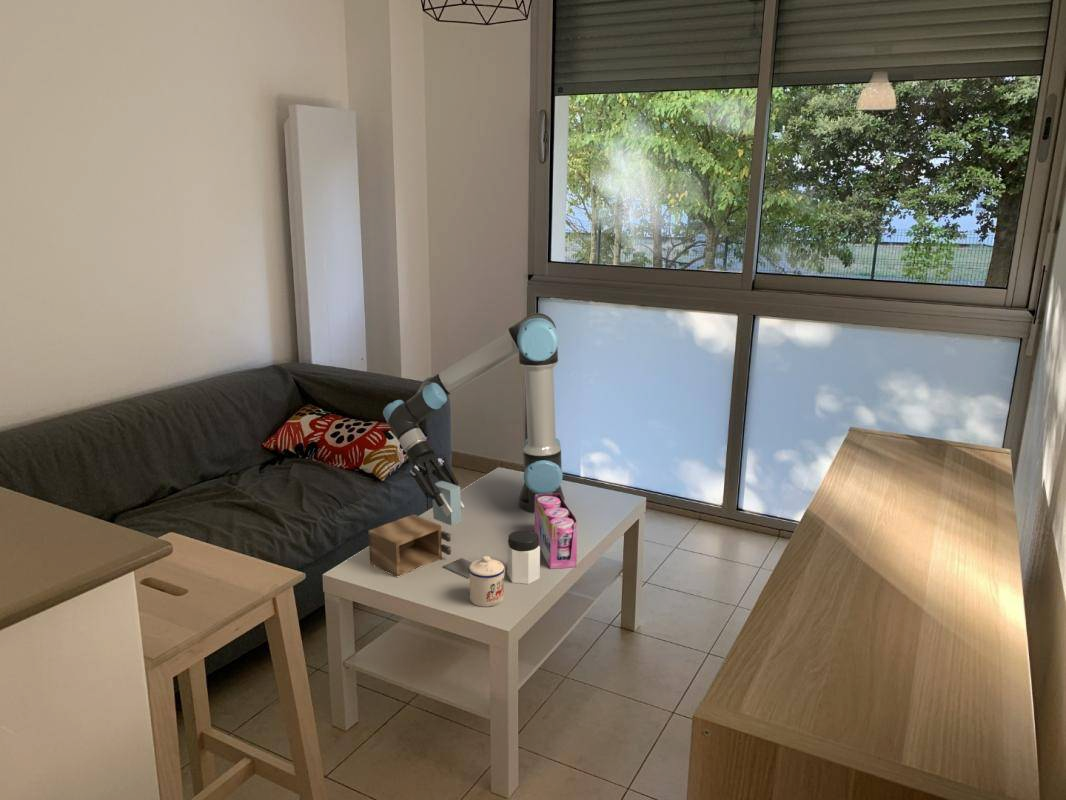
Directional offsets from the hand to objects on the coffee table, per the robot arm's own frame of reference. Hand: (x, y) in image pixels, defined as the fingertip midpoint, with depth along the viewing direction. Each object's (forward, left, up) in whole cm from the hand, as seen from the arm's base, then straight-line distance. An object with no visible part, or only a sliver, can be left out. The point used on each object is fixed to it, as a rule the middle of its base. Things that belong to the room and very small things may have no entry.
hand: (455, 511), depth 242 cm
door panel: (+3, -2, -4) cm, 5 cm away
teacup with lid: (-16, +32, -10) cm, 37 cm away
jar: (-23, +20, -10) cm, 32 cm away
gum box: (-30, +2, -10) cm, 31 cm away
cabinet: (+4, +17, -10) cm, 20 cm away
